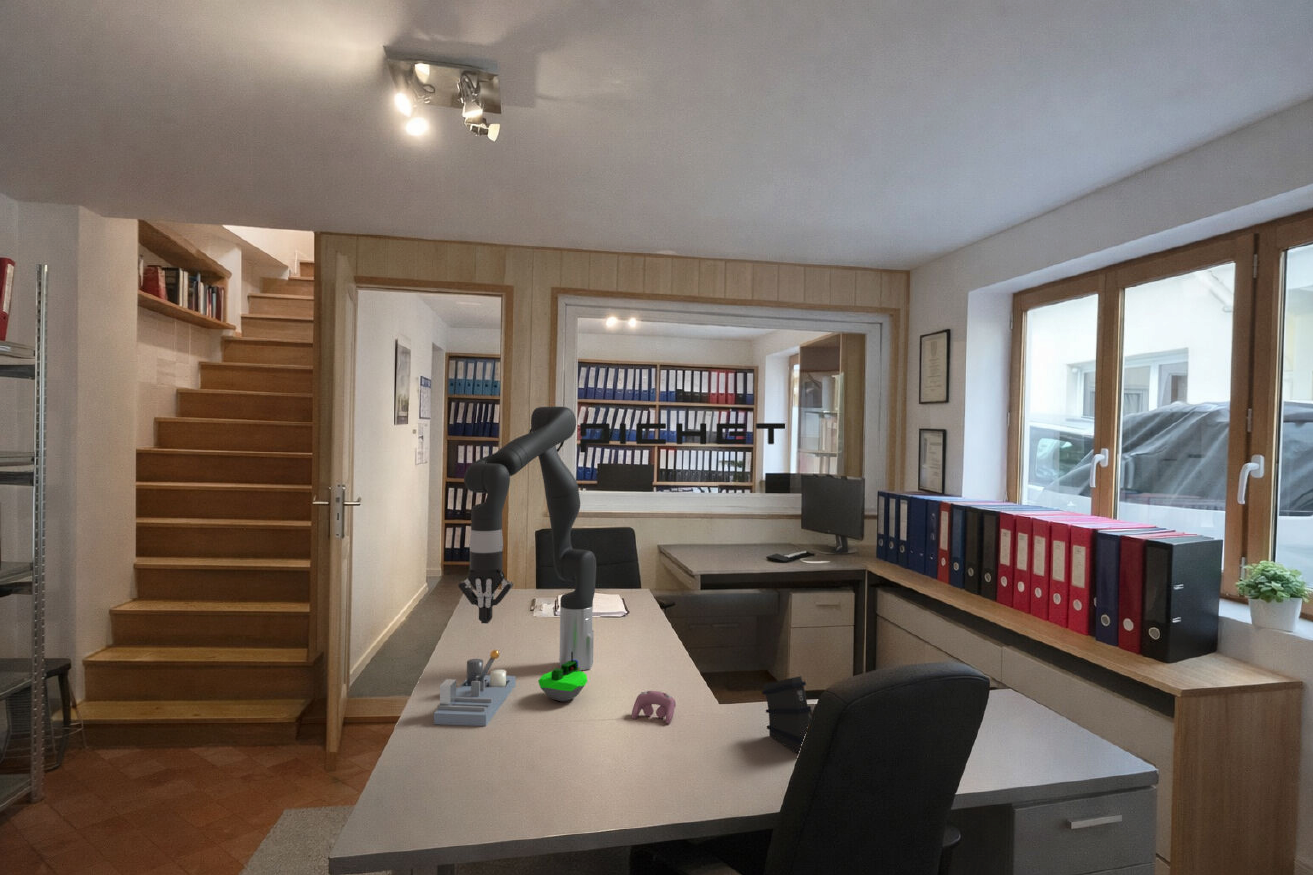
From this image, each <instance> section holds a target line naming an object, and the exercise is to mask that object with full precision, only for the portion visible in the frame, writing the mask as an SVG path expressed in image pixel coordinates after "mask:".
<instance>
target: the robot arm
mask: <svg viewBox="0 0 1313 875" xmlns="http://www.w3.org/2000/svg"><path fill="white" fill-rule="evenodd" d="M530 427H531V431H530V432H529V433H525V434H524V435H521V436H519V437H517V438H514V439H512V440H510V441H509V442H507V443H506V444H505V445H504V446H502V447H501V448H500V449H498V450H497V451H496V452H494V453H492V454H491V453H490V454H489V455H486V456H484V457H482V458H479V459H478V460H476V461H474V462H472V463H471V464H470V465H468V467H467V469H466V470H465V472H464V476H463V483H464V485H465V487H466V489H467V490H469V491H470V492H471V493H472V492H473V493H475V494H487V495H486V497H485V501H484V502H482V503H481V502H480V503H477V504H474V505H473V506H472V507H471V513H470V514H471V517H470V518H471V520H470V521H471V522H470V536H469V538H470V539H469V572H468V574H467V578H466V579H465V580H463V581H461V582H460V583H458V588H459V589H460V590H461V592H462V593H463V595H464V596H465V598H466V599H467V600H468V602H470V604H471V605H475V606H477V607H478V620H479V621H480V622H481V624H489V623H490V621H491V620H492V619H493V607H494V606H498V605H499V604H500V603H501V601H502V600H504V599H505V597H506V596H507V594H508V593H509V592H510V590H511V589H513V586H514V583H513V582H511V581H509V580H507V579H506V578H505V577H506V575H505V574H504V571H503V570H504V569H503V566H504V557H503V556H504V537H503V535H504V534H503V509H504V506H505V503H506V500H507V499H506V498H507V495H508V492H509V488H510V483H511V477H512V476H515V475H516V474H517V473H518V472H520V471H521V470H523V468H524V467H526V466H527V465H529V463H530V462H531V461H533V460H534V459H536V458H537V457H538V460H539V465H540V469H541V474H542V479H543V486H544V495H545V500H546V506H547V511H548V514H549V515H548V516H549V522H550V529H551V537H552V554H553V555H552V556H553V566H554V570H555V574H556V576H557V577H558V579H560V580H562V581H564V582H573V583H575V589H574V590H573V591H570V592H566V593H565V594H562V595H561V596H560V601H559V602H560V604H559V606H560V608H559V610H560V611H559V659H558V660H559V666H558V667H559V669H561V665H562V664H564V663H566V662H568V661H571V652H573V660H577V661H578V667H580V670H579V671H583V670H584V671H585V670H591V668H592V666H593V665H594V639H595V638H594V636H595V634H594V632H595V631H594V630H593V618H594V617H593V615H594V612H593V610H594V598H595V593H596V580H597V559H596V558H597V557H596V556H595V554H594V552H593V551H591V550H586V549H577V548H573V546H572V541H571V538H572V537H571V532H572V529H573V525H574V524H575V521H576V519H577V517H578V515H579V512H580V509H581V497H580V491H579V485H578V482H577V480H576V478H575V476H574V475H573V474H572V472H571V470H570V469H569V468H568V467H567V465H566V464H565V463H564V462H563V459H561V457H560V454H559V452H558V450H557V446H558V445H560V444H561V443H564V442H565V441H567V440H569V439H570V438H572V436H573V435H574V433H575V431H576V428H577V418H576V415H575V413H574V411H573V410H572V409H571V408H569V407H567V406H539V407H536V408H535V409H534V410H533V411H532V412H531V417H530ZM500 585H501V586H500ZM472 587H473V588H474V589H472ZM499 587H500V588H501V591H500V592H499V594H498V595H497V596H496V597H495V595H496V594H495V593H496V591H497V589H498V588H499ZM474 590H475V591H476V593H475V592H474Z"/></svg>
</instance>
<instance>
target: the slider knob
mask: <svg viewBox="0 0 1313 875" xmlns="http://www.w3.org/2000/svg"><path fill="white" fill-rule="evenodd" d="M456 689H457V679H450V678H449V679H448V678H446V679H444V681H443V682H442V683H441V684H440V685H439V693H440V694H439V705H449V706H452V705H453V703H454V702H455V701H456Z"/></svg>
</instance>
